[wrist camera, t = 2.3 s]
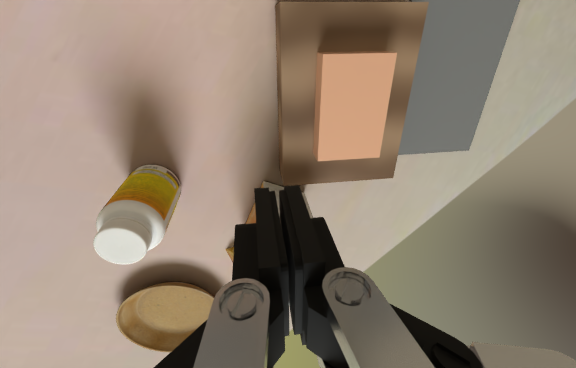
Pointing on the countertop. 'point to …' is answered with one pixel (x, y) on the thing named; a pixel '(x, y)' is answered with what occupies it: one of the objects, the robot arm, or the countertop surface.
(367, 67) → the peach rectangular slab
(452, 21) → the mat
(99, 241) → the supplement bottle
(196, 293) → the plant saucer
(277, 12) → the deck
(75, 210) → the countertop surface
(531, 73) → the countertop surface
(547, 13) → the countertop surface
